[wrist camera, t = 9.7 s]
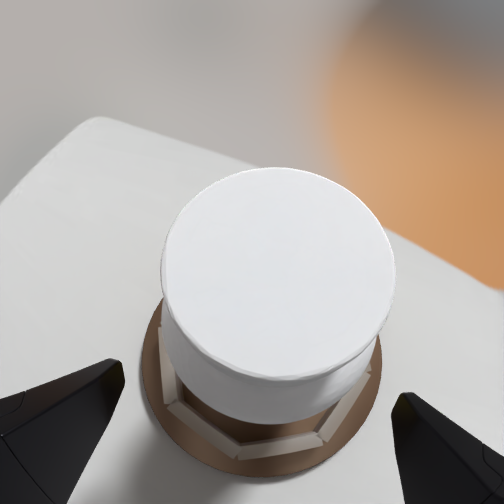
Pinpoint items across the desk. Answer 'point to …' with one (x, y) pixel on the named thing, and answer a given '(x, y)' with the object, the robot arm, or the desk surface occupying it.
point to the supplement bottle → (274, 293)
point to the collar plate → (246, 433)
